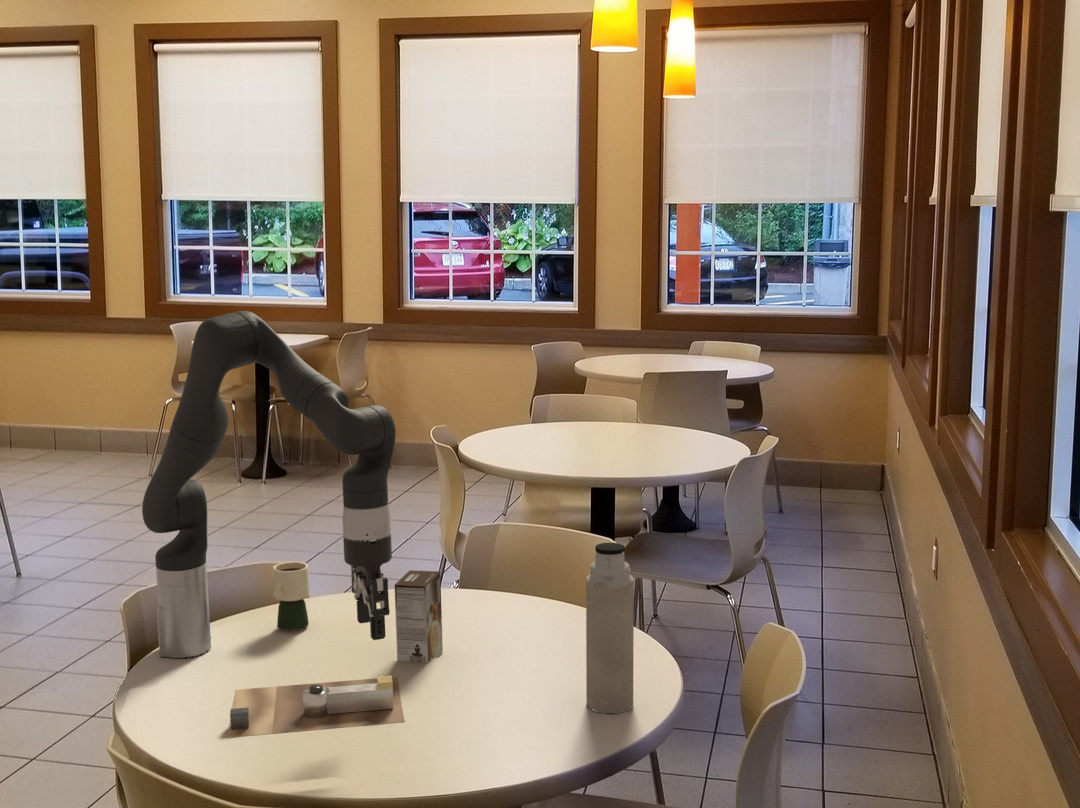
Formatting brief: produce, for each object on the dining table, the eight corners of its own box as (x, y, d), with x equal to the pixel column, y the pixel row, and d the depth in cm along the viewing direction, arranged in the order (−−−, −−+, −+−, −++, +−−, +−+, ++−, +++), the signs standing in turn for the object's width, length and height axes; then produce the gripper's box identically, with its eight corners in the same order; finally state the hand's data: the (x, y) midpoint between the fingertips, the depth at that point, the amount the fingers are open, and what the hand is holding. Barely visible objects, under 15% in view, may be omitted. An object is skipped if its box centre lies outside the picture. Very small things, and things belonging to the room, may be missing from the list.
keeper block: (230, 729, 185) (230, 713, 184) (231, 725, 186) (230, 708, 186) (248, 728, 185) (248, 711, 185) (249, 723, 187) (248, 707, 186)
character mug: (291, 617, 240) (288, 557, 238) (321, 621, 238) (319, 560, 236) (263, 635, 230) (260, 572, 228) (294, 639, 227) (291, 576, 225)
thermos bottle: (593, 692, 201) (593, 537, 196) (638, 697, 198) (639, 540, 194) (580, 710, 193) (579, 549, 189) (626, 716, 191) (627, 554, 186)
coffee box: (411, 649, 222) (409, 568, 219) (443, 651, 220) (441, 570, 218) (396, 667, 213) (393, 583, 210) (429, 669, 212) (427, 585, 209)
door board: (227, 744, 182) (227, 737, 182) (236, 696, 200) (235, 689, 200) (404, 728, 187) (404, 721, 187) (397, 683, 206) (397, 676, 205)
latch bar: (303, 718, 188) (302, 691, 187) (303, 707, 192) (302, 680, 192) (393, 710, 191) (392, 683, 190) (392, 699, 195) (391, 673, 194)
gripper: (333, 524, 187) (337, 620, 189) (354, 546, 174) (359, 648, 176) (378, 519, 190) (382, 613, 192) (402, 540, 177) (406, 641, 179)
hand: (371, 630), depth 184 cm, fingers open, 8 cm apart
